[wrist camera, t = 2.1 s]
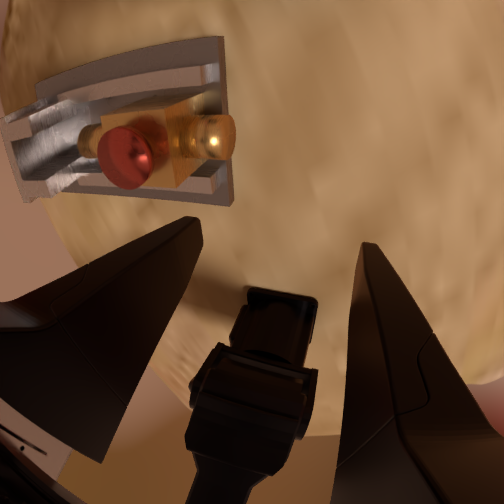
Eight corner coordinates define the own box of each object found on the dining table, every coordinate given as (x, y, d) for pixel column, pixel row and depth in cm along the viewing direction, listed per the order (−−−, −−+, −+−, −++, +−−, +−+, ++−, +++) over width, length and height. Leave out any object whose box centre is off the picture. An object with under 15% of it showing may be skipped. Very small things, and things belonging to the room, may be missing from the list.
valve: (239, 91, 16) (193, 113, 12) (242, 160, 19) (204, 204, 15) (104, 104, 19) (45, 131, 15) (114, 157, 22) (63, 192, 17)
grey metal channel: (223, 36, 15) (173, 36, 11) (234, 200, 22) (200, 248, 18) (32, 85, 20) (-15, 106, 16) (57, 186, 28) (19, 216, 23)
